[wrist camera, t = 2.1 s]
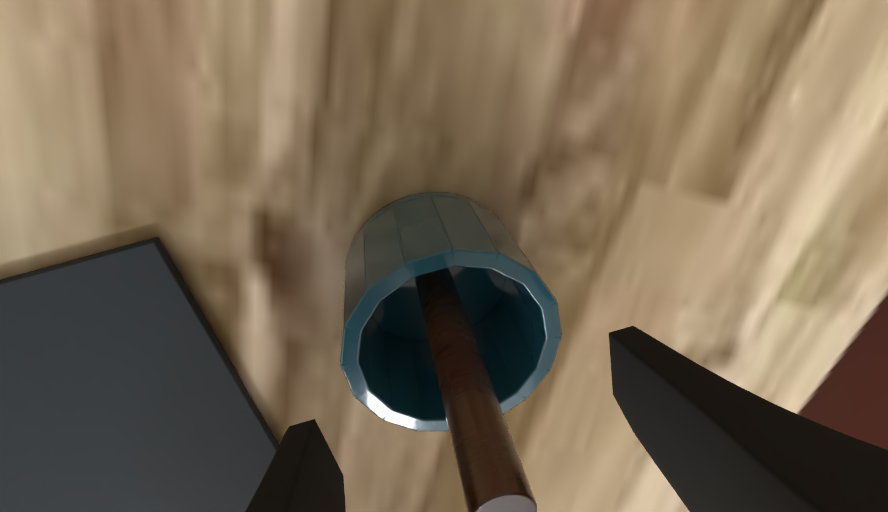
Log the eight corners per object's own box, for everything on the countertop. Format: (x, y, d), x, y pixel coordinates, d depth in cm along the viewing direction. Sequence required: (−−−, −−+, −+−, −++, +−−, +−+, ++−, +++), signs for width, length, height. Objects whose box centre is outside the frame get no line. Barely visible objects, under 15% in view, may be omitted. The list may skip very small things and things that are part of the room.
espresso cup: (525, 317, 19) (570, 397, 15) (373, 361, 19) (378, 455, 15) (499, 170, 16) (548, 222, 12) (319, 220, 16) (307, 290, 12)
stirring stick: (455, 289, 17) (541, 526, 9) (420, 299, 17) (477, 547, 9) (447, 259, 16) (533, 485, 9) (411, 269, 16) (464, 506, 9)
